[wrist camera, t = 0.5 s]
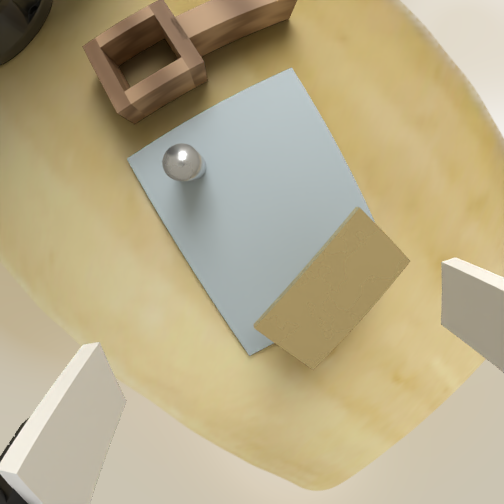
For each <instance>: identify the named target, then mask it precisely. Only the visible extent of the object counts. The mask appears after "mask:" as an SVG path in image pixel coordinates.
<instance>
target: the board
mask: <svg viewBox="0 0 504 504" xmlns="http://www.w3.org/2000/svg"><path fill="white" fill-rule="evenodd" d="M180 143H184V144H188V145H190V146H192V147H193V148H194V149H195V150H196V151H197V152H198V153H199V154H200V155H201V156H202V157H203V158H204V159H205V161H206V171H205V174H204V175H203V176H202V177H201V178H200V179H198V180H196V181H176V180H173V179H171V178H170V177H168V176H167V175H166V173H165V172H164V169H163V166H162V160H163V156H164V154H165V152H166V151H167V150H168V149H169V148H170V147H171V146H173V145H175V144H180ZM127 160H128V162H129V164H130V166H131V168H132V169H133V171H134V173H135V175H136V176H137V178H138V180H139V182H140V183H141V185H142V187H143V189H144V190H145V192H146V194H147V196H148V197H149V199H150V201H151V202H152V204H153V206H154V208H155V209H156V211H157V213H158V214H159V216H160V218H161V219H162V221H163V223H164V224H165V226H166V228H167V229H168V231H169V233H170V234H171V236H172V238H173V239H174V241H175V242H176V244H177V246H178V247H179V249H180V251H181V252H182V254H183V255H184V257H185V259H186V260H187V262H188V263H189V265H190V267H191V268H192V270H193V271H194V273H195V275H196V276H197V278H198V279H199V281H200V282H201V284H202V285H203V287H204V289H205V290H206V292H207V293H208V295H209V296H210V298H211V299H212V301H213V302H214V304H215V306H216V307H217V309H218V310H219V312H220V313H221V315H222V316H223V318H224V319H225V321H226V322H227V324H228V325H229V327H230V328H231V330H232V331H233V333H234V334H235V335H236V337H237V338H238V340H239V341H240V343H241V344H242V346H243V347H244V349H245V350H246V352H247V353H248V354H249V356H250V355H252V354H254V353H256V352H258V351H260V350H262V349H264V348H265V347H267V346H269V345H271V344H273V343H274V342H272V341H271V340H270V339H268V338H267V337H265V336H264V335H263V334H261V333H260V332H259V331H257V330H256V329H254V325H253V324H254V323H255V322H256V321H257V320H258V319H259V318H260V317H261V315H262V314H263V313H264V312H265V311H266V310H267V309H268V308H269V307H270V306H271V304H272V303H273V302H274V301H275V300H276V299H277V298H278V297H279V296H280V294H281V293H282V292H283V291H284V290H285V289H286V288H287V287H288V285H289V284H290V283H291V282H292V281H293V280H294V279H295V278H296V276H297V275H298V274H299V273H300V272H301V271H302V270H303V268H304V267H305V266H306V265H307V264H308V263H309V262H310V260H311V259H312V258H313V257H314V256H315V255H316V253H317V252H318V251H319V250H320V249H321V248H322V246H323V245H324V244H325V243H326V242H327V241H328V239H329V238H330V237H331V236H332V235H333V234H334V232H335V231H336V230H337V229H338V228H339V226H340V225H341V224H342V223H343V222H344V220H345V219H346V218H347V217H348V216H349V214H350V213H351V212H352V211H353V210H354V208H355V207H360V208H361V209H362V210H363V211H364V212H365V213H366V214H367V215H368V216H369V217H370V218H371V219H372V220H373V221H374V219H373V217H372V215H371V213H370V210H369V208H368V206H367V204H366V202H365V200H364V198H363V195H362V193H361V191H360V189H359V187H358V185H357V183H356V181H355V179H354V177H353V175H352V173H351V171H350V169H349V167H348V165H347V163H346V161H345V159H344V157H343V155H342V153H341V152H340V150H339V148H338V146H337V144H336V142H335V140H334V138H333V137H332V135H331V133H330V131H329V129H328V128H327V126H326V124H325V122H324V120H323V119H322V117H321V115H320V113H319V112H318V110H317V108H316V107H315V105H314V103H313V101H312V100H311V98H310V96H309V95H308V93H307V91H306V90H305V88H304V87H303V85H302V83H301V82H300V80H299V78H298V77H297V75H296V74H295V72H294V71H293V69H292V68H290V69H287V70H285V71H283V72H281V73H279V74H276V75H274V76H272V77H270V78H268V79H266V80H263V81H261V82H259V83H257V84H255V85H253V86H251V87H249V88H247V89H245V90H243V91H241V92H239V93H237V94H235V95H233V96H231V97H229V98H227V99H225V100H224V101H222V102H220V103H218V104H216V105H214V106H212V107H211V108H209V109H207V110H205V111H203V112H202V113H200V114H198V115H196V116H195V117H193V118H191V119H189V120H188V121H186V122H184V123H183V124H181V125H179V126H177V127H176V128H174V129H172V130H171V131H169V132H168V133H166V134H164V135H163V136H161V137H160V138H158V139H156V140H155V141H153V142H152V143H150V144H149V145H147V146H145V147H144V148H142V149H141V150H139V151H138V152H136V153H135V154H133V155H132V156H130V157H129V158H127ZM374 222H375V221H374Z"/></svg>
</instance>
